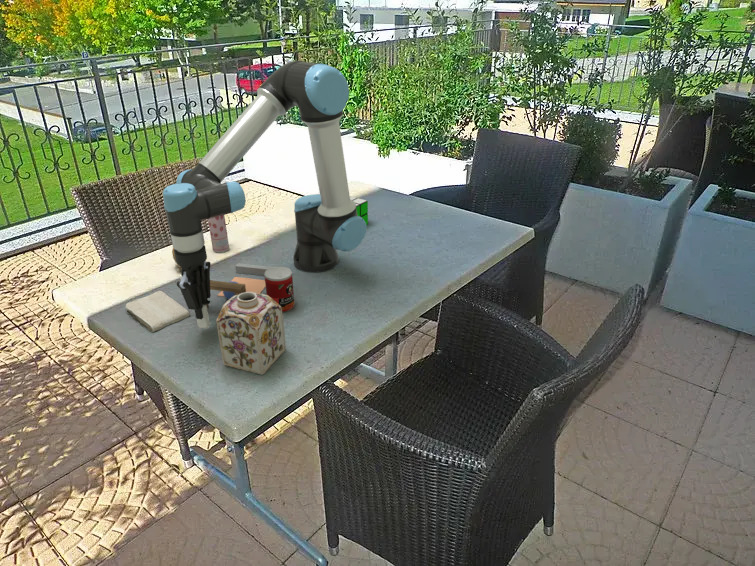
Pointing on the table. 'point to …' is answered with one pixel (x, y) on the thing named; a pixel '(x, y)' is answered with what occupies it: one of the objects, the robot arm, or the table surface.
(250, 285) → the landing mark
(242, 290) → the bridge
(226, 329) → the decorative jar
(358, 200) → the puzzle cube
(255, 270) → the grey long bar
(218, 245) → the beverage can
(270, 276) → the canned food
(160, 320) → the washcloth
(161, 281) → the table surface
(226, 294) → the ball
